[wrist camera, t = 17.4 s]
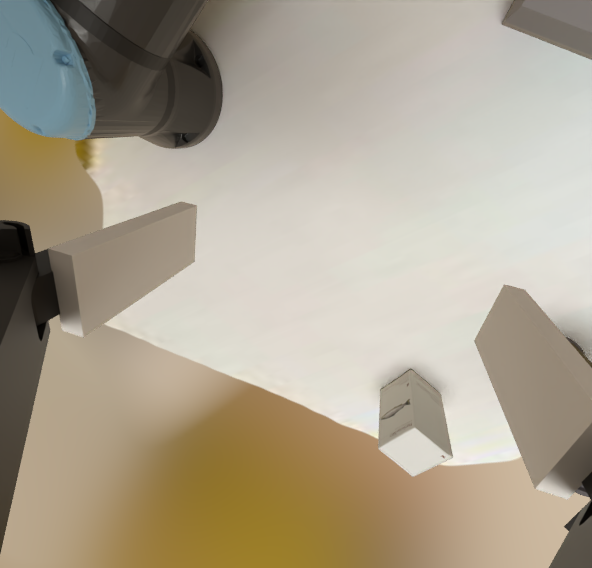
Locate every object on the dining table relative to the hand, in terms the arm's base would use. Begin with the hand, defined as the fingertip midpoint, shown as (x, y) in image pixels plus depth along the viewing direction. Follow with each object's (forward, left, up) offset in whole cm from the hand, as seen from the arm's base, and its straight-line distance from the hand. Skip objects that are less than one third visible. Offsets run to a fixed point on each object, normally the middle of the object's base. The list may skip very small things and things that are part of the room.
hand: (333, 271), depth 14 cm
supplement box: (+22, -30, -35) cm, 51 cm away
